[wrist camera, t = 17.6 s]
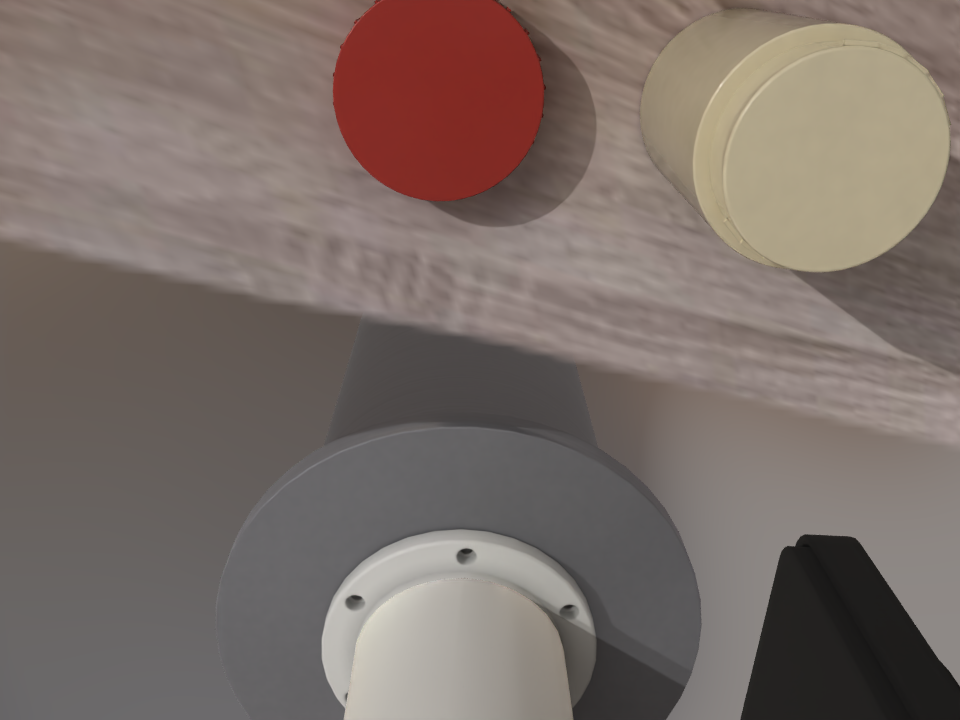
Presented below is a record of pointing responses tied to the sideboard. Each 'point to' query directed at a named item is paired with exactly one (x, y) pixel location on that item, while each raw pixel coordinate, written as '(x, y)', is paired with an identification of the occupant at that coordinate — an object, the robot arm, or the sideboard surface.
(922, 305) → the sideboard surface
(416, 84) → the jam lid
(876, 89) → the jam jar
